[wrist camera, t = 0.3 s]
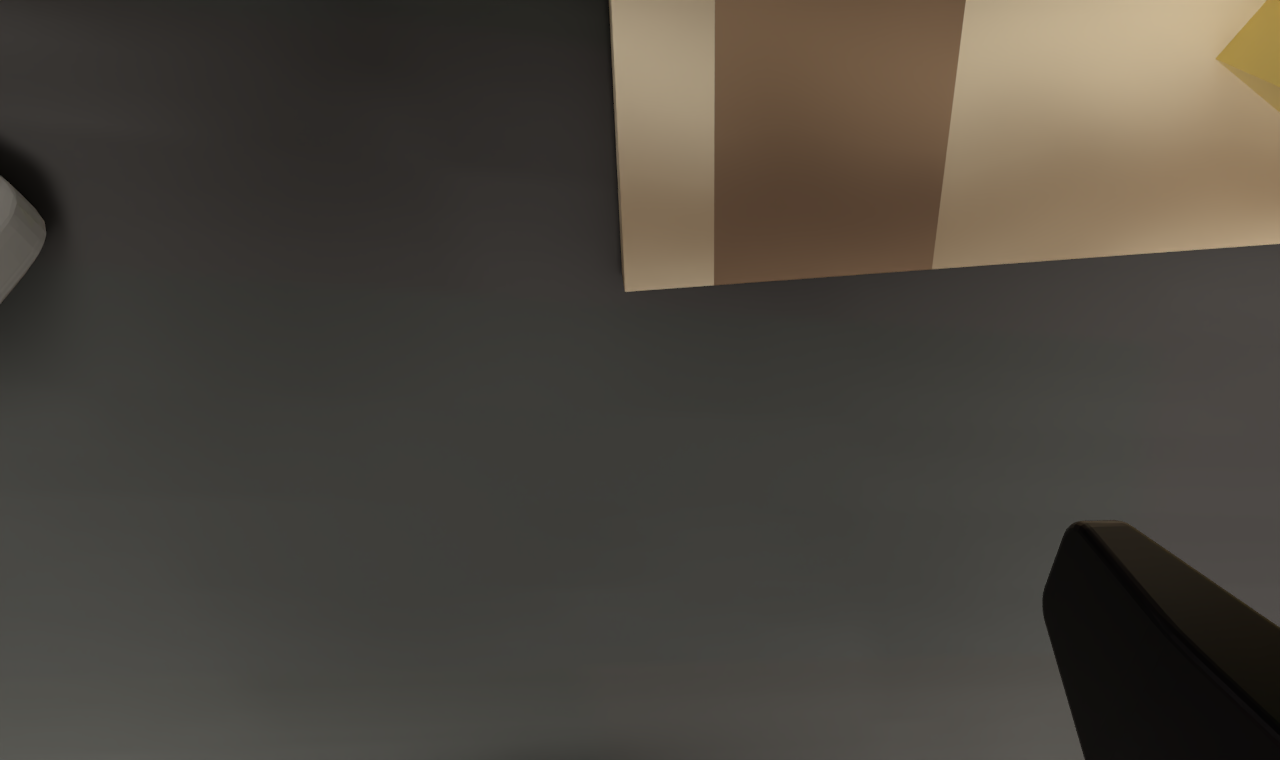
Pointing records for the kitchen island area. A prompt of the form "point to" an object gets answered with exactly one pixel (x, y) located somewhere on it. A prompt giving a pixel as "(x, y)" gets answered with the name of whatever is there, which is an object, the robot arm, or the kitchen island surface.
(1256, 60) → the tall mustard yellow pillar
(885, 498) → the kitchen island surface
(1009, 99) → the panel
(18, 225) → the digital clock
